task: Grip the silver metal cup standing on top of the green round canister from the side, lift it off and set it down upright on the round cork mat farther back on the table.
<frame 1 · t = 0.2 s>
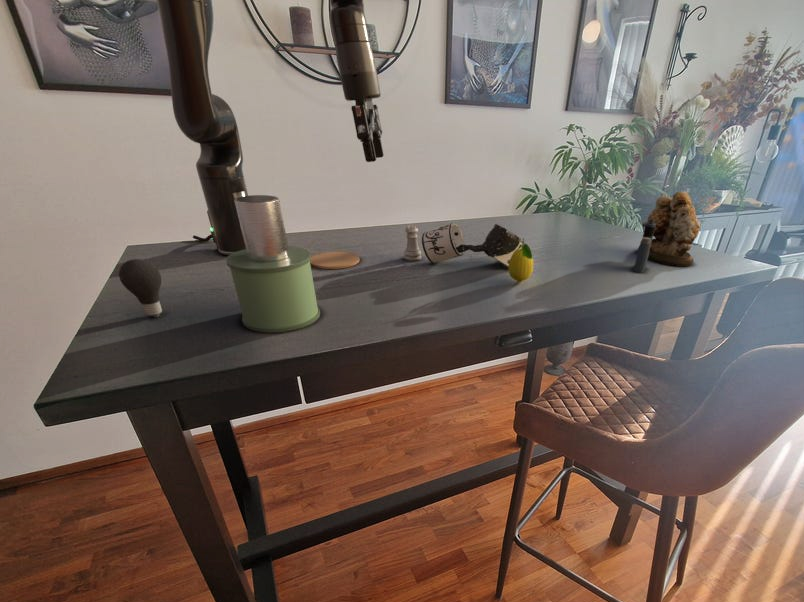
hand: (375, 159, 99), 22 cm above the table, tool pointing down, fingers open, 8 cm apart
rook chess piece: (412, 259, 112), on the table
lemon: (519, 283, 100), on the table
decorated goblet: (470, 264, 110), on the table
vaping device: (639, 270, 112), on the table
silver cup: (269, 256, 74), point 11 cm above the table, touching green round canister
light bulb: (156, 316, 78), on the table
cork mat: (334, 261, 107), on the table
green round canister: (282, 316, 80), on the table
owl figurine: (662, 257, 123), on the table
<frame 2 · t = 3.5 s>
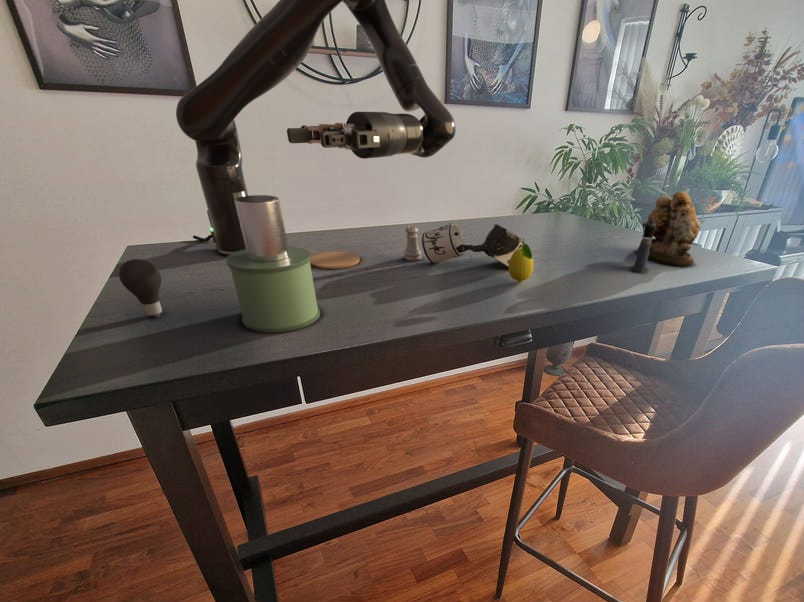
hand: (305, 137, 72), 28 cm above the table, tool horizontal, fingers open, 8 cm apart
nothing on the table moved.
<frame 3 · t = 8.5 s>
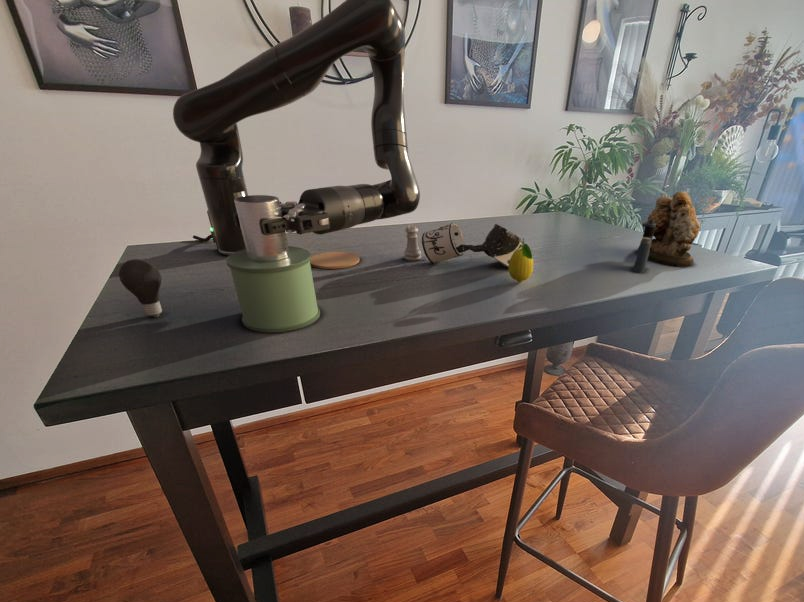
hand: (248, 224, 69), 17 cm above the table, tool horizontal, fingers closed on silver cup, 6 cm apart
silver cup: (269, 256, 74), point 11 cm above the table, touching green round canister, gripper
everything else where it was.
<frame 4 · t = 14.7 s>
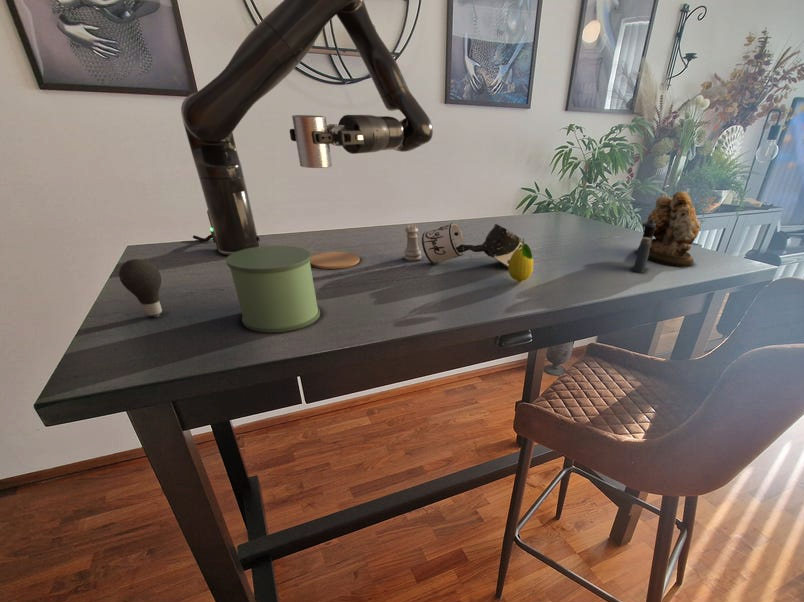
hand: (302, 136, 88), 27 cm above the table, tool horizontal, fingers closed on silver cup, 6 cm apart
silver cup: (316, 165, 93), point 21 cm above the table, touching gripper
everything else where it was.
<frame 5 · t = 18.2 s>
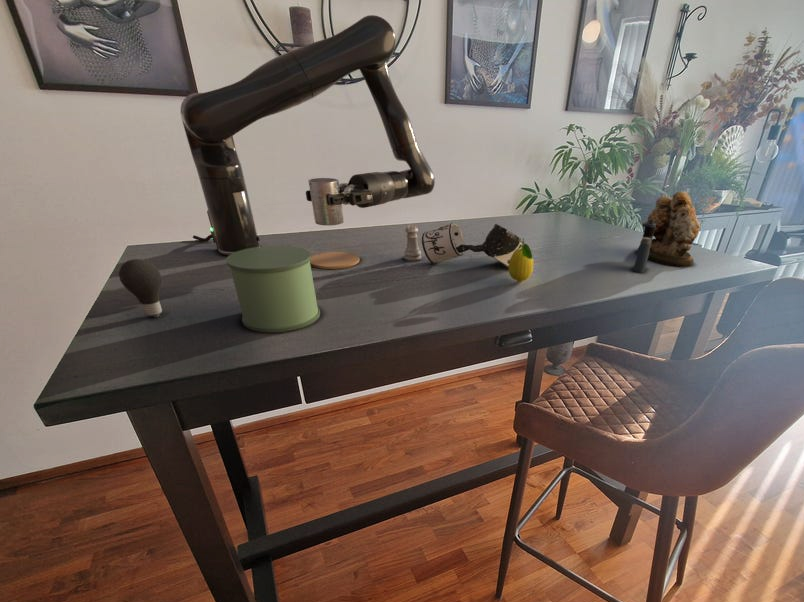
hand: (317, 198, 98), 15 cm above the table, tool horizontal, fingers closed on silver cup, 6 cm apart
silver cup: (329, 222, 103), point 9 cm above the table, touching gripper
everything else where it was.
when the fingers open (6 cm above the table, at t = 21.1 s): silver cup stays where it is, resting on cork mat.
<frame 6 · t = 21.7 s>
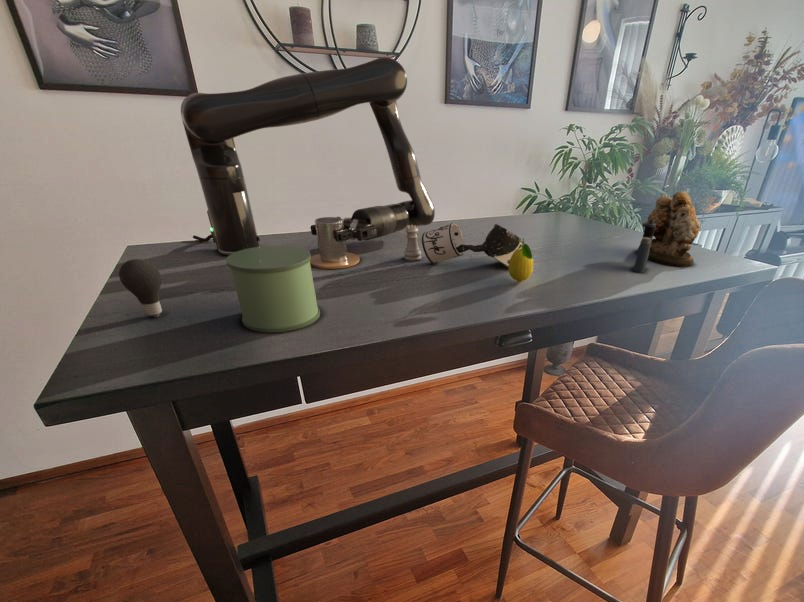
hand: (323, 233, 102), 7 cm above the table, tool horizontal, fingers open, 8 cm apart
silver cup: (334, 258, 107), point 1 cm above the table, touching cork mat
everything else where it was.
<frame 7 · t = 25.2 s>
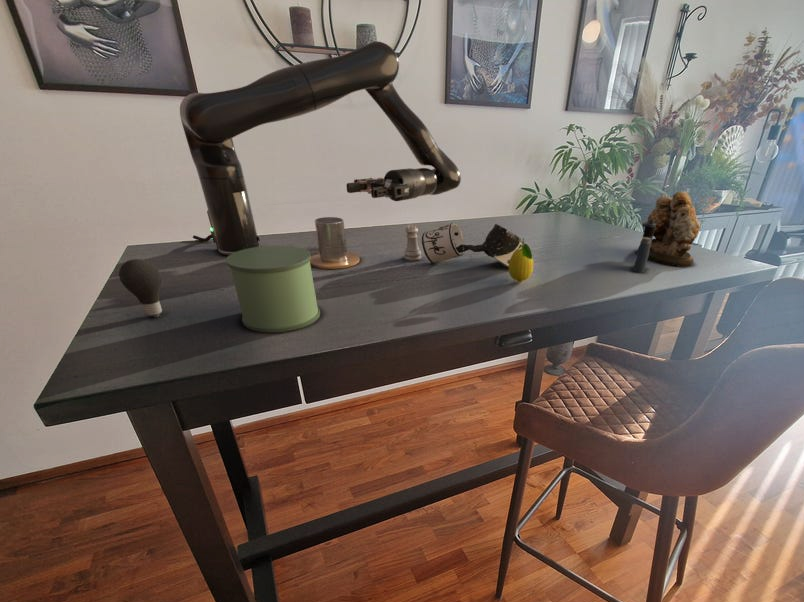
hand: (359, 190, 107), 15 cm above the table, tool horizontal, fingers open, 8 cm apart
nothing on the table moved.
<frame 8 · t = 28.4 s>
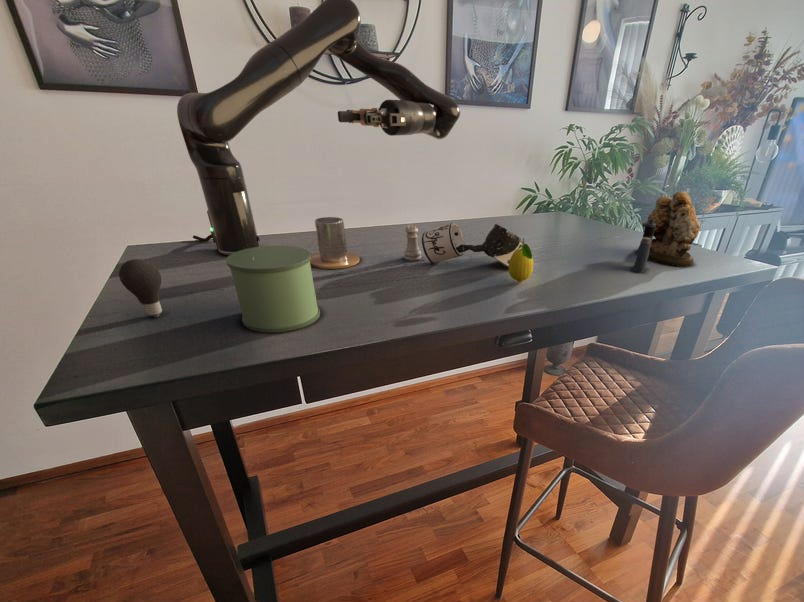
hand: (352, 117, 98), 30 cm above the table, tool horizontal, fingers open, 8 cm apart
nothing on the table moved.
at the end: silver cup inside the target area on the cork mat (0.1 cm from its centre), point 0.6 cm above the cork mat's base; silver cup tilted 0°; silver cup touching cork mat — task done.
